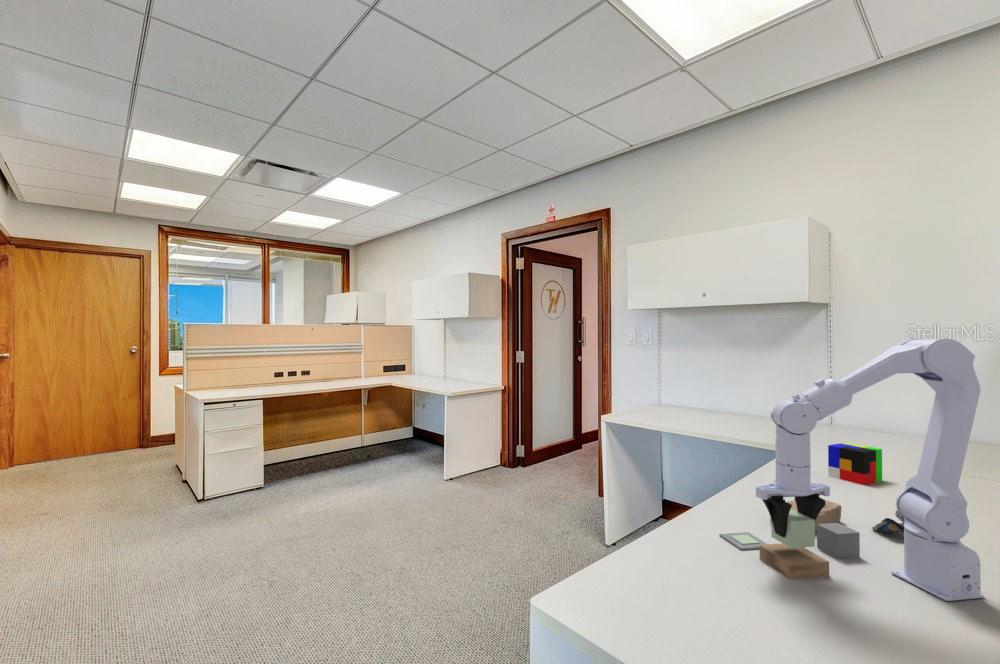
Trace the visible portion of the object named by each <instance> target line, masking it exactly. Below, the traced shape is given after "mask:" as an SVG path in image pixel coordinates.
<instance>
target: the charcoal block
mask: <svg viewBox="0 0 1000 664" xmlns="http://www.w3.org/2000/svg"><path fill="white" fill-rule="evenodd" d="M860 537H861V536H860V532H859V531H857V530H855V529H852V528H850V527H848V526H846V525H843V524H841V523H839V522H837V523H826V524H817V531H816V547H817V549H819V550H821V551H822V552H825V553H826V554H828V555H830V556H832V557H834V558H835V559H838V560H840V559H853V558H854V559H855V558H861V557H860V555H861V554H860V551H861V550H860V548H861V547H860V546H861V545H860V543H861V541H860Z"/></svg>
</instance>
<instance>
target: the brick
mask: <svg viewBox="0 0 1000 664" xmlns="http://www.w3.org/2000/svg"><path fill="white" fill-rule="evenodd" d="M824 500H825V506H824V507H823V509H822V510H821V511H820V513H819V514H818V516H817V518H816V521H815V532H817V524H826V523H839V522H840V521H841V518H842V505H841V504H839V503H837V502H834V501H832V500H826V499H824ZM786 502H787V503H789V504H791V505H792V507H791V509H790V510H795V511H797V512H798V510H797V505H796V501H795V498H794V499H793V500H790V501H786ZM769 521H770V523H771V517H770V520H769Z"/></svg>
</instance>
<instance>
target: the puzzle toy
mask: <svg viewBox="0 0 1000 664" xmlns="http://www.w3.org/2000/svg"><path fill="white" fill-rule="evenodd" d="M827 452H828V453H827V459H828V464H827V465H828V466H827V467H828V468H827V469H828V471H827V472H828V473H827V474H828V477H831V478H834V479H838V480H843V481H846V482H849V483H850V482H851V483H854V484H857V485H861V486H866V485H871V484H875V483H880V482H883V449H882V448H878V447H874V446H873V447H872V446H868V445H863V444H857V443H851V442H841V443H834V444H828V445H827Z"/></svg>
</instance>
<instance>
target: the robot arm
mask: <svg viewBox="0 0 1000 664" xmlns="http://www.w3.org/2000/svg"><path fill="white" fill-rule="evenodd" d="M975 357H976V355H975V354H974V353H973V352H972V351H971V350H970V349H968V348H967V347H966V346H965V345H964V344H963V343H961V342H960V341H958V340H956V339H952V338H939V339H936V338H934V339H928V338H927V339H923V338H910V339H907V340H904V341H902V342H901V343H900V344H897V345H893V346H891V347H890V348H887V349H886V350H885V351H884V352H883V353H881V354H879V355H878V356H876V357H874V358H872V359H871V360H869V361H868V362H867V363H865V364H863V365H862V366H860V367H859V368H857V369H855V370H853V371H852V372H850V373H849V374H847V375H845V376H844V377H842V378H840V379H835V378H834V379H833V378H826V379H825V380H824V379H820V378H819V379H817V380H816V381H814V384H815V385H813V386H812V387H810V388H809V389H807V390H805V391H803V392H801V393H799V394H798V393H794V394H793V395H791V398H792V400H790V399H789V400H787V399H786V400H785V399H784V400H781V401H780V402H778V403H776V404H775V406H774V408H773V409H772V412H771V413H770V418H771V420H772V422H773V423H774V424H775V479H774V480H773V482H771V483H768V484H763V485H758V486H757V485H756V486H755V497H756V498H758V499H761V500H762V502H763V504H764V505H765V507H766V509H767V511H768V513H769V514H768V515H769V516H770V518H771V519H772V523H773V526H774V530H775V533H776V534H778V535H780V536H781V537H786V532H787V521H788V515H789V512H790V509H791V507H792V505H791V504H789V503H787V502H788V501H786V499H785V498H792V497H793V498H794V499H795V501H796V505H797V510H798V512H799V513H801V514H803V515H805V516H808V517H810V518H812V519H814V520H815V521H816V518H817V516H818V514H819V513H820V511H821V510H822V509H823V507H824V506H825V500H826V499H824V498H821V497H820V496H824V497H831V486H830V485H828V484H824V483H821V482H820V483H819V482H818V483H817V482H816V483H815V482H811V479H812V478H811V476H812V475H811V470H812V469H811V466H812V465H811V463H812V461H811V459H812V457H811V432H812V431H813V430H814V429H815V428H816V425H817V422H820V421H822V420H823V419H825V418H827V417H830V415H833V414H834V413H837V412H838V411H841V410H842V409H844V408H846V407H847V406H849V405H851V403H852V401H853V396H854V395H855V394H858V393H859V392H861V391H864V390H865V389H868V388H869V387H871V386H875V384H877V383H880V382H882V381H884V380H886V379H889V378H890V377H892V376H894V375H897V374H914V375H916V376H917V377H919V378H921V379H922V380H923V381H924V382H925V383H926V384H927V385H928V386H929V387H930V388H931V389H932V390H933V391H934V392H935V396H934V400H933V405H932V410H931V414H930V417H929V421H928V426H927V430H926V434H925V435H926V436H925V439H924V444H923V448H922V451H921V457H920V461H919V466H918V469H917V473H916V474H915V475H914V476H913V477H911V478H909V479H908V480H907V481H906V484H905V488H904V489H903V490H902V491H901V492H900V493H899V494H898V496H897V497H896V499H895V506H896V511H897V510H898V512H899V513H900V514H901V515H902V516H903V517H904V536H903V539H904V540H903V547H904V548H903V554H904V555H903V558H904V559H903V560H904V561H903V565H904V566H903V568H902V569H893V570H891V571H890V572H891V574H892V575H894V576H896V577H898V578H900V579H902V580H904V581H906V582H908V583H910V584H912V585H915V587H918V588H920V589H922V590H924V591H926V592H928V593H930V594H932V595H934V596H936V597H938V598H939V599H942V600H943V601H946V602H951V601H952V602H953V601H961V600H962V601H963V600H972V599H973V600H974V599H980V598H985V594H984V593H982V592H981V586H982V585H981V583H982V581H981V560H980V557H979V555H978V553H977V552H976V551H975V550H973V549H972V548H970V547H968V546H966V545H965V544H964V543H963V542H962V541H961V539H963V538H964V537H965V536H966V535H967V534H968V532H969V529H970V520H969V518H968V515H967V507H968V501H967V499H966V497H965V496H964V495H963V493H962V491H961V489H960V488H959V485H960V481H961V475H962V471H963V467H964V463H965V459H966V455H967V450H968V447H969V442H970V438H971V434H972V430H973V424H974V421H975V416H976V411H977V408H978V403H979V400H980V396H981V385H980V382H979V379H978V375H977V374H976V371H975V369H974V362H975Z"/></svg>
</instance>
